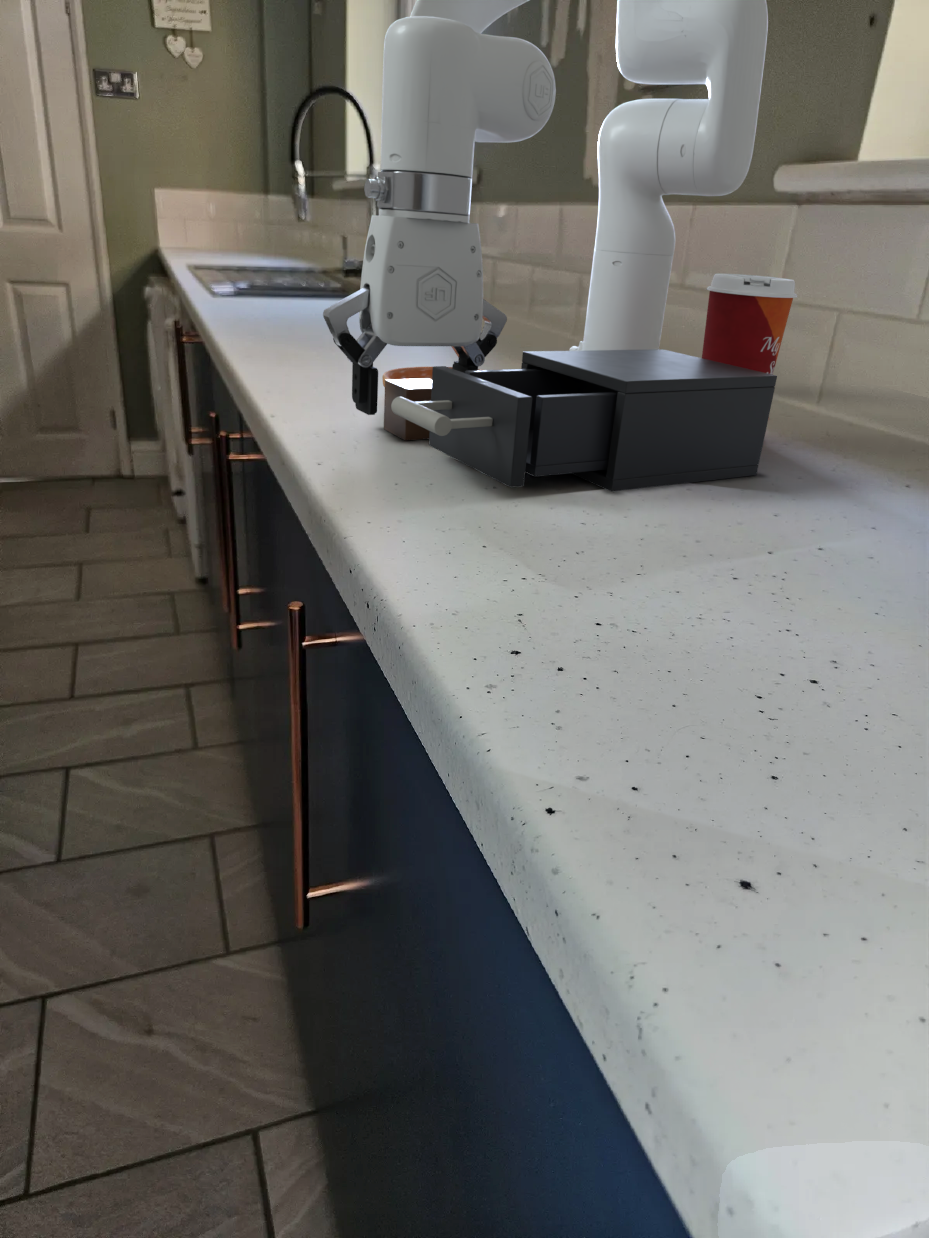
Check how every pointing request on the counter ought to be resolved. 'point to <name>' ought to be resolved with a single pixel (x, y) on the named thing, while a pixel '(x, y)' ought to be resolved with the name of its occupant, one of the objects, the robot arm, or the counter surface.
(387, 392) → the block
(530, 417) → the drawer
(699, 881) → the counter surface
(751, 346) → the coffee cup
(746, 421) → the dark grey drawer cabinet
